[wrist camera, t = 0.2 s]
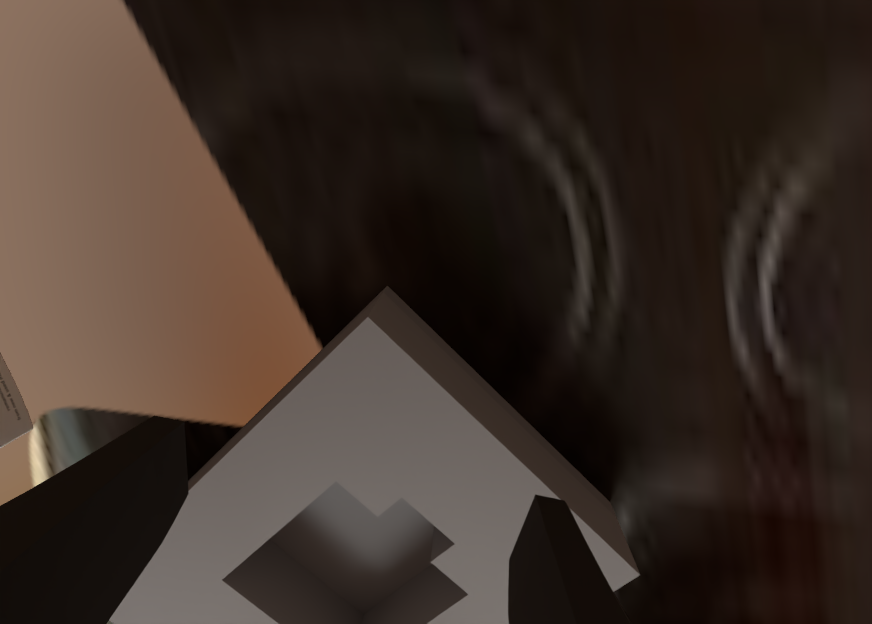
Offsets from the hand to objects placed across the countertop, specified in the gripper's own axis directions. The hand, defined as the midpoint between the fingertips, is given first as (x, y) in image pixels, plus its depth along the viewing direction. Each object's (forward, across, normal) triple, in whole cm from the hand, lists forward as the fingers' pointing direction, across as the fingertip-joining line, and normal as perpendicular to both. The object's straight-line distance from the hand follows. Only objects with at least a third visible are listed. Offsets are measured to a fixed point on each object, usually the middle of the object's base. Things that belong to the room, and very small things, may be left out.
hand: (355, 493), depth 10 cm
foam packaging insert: (+9, 0, +12) cm, 14 cm away
